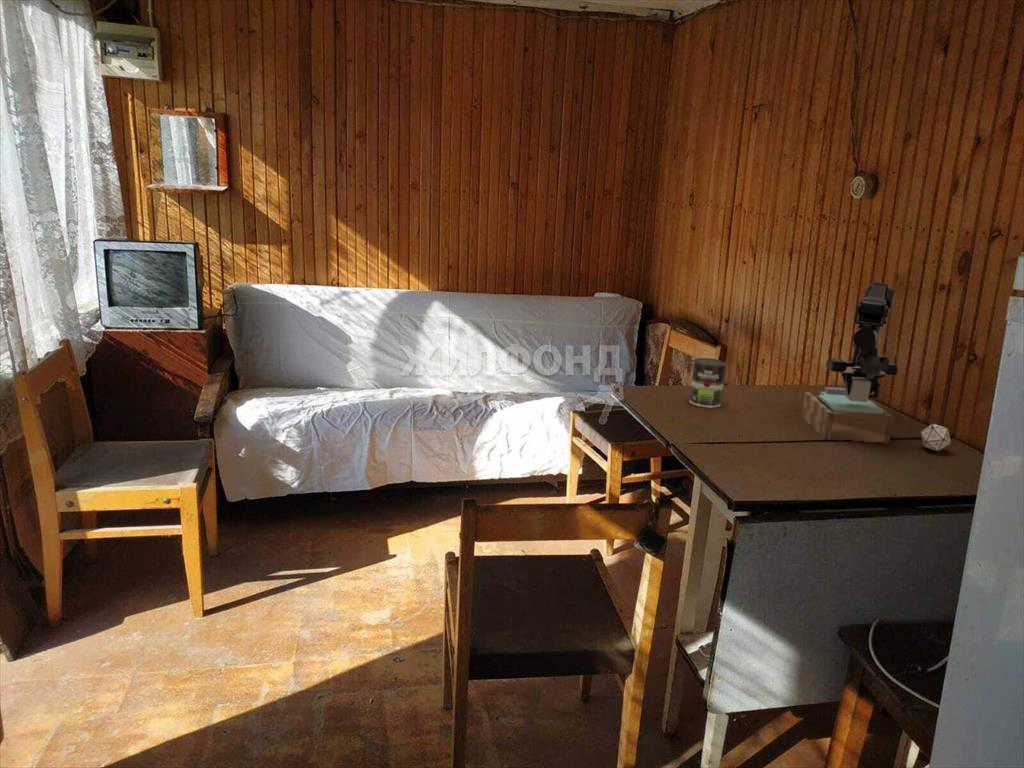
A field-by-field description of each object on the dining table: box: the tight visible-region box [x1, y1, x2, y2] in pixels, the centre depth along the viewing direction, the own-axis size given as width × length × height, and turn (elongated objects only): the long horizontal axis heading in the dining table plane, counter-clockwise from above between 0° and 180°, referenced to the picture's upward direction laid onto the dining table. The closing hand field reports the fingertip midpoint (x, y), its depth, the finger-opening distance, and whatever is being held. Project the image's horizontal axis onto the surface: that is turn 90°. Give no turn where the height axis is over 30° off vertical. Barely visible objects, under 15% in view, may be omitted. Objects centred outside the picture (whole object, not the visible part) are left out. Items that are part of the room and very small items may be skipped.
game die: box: [917, 420, 955, 455], centre depth 222 cm, size 9×8×10 cm
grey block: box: [845, 377, 871, 402], centre depth 229 cm, size 5×5×6 cm
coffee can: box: [688, 357, 728, 409], centre depth 255 cm, size 10×10×14 cm
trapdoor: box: [818, 386, 884, 414], centre depth 235 cm, size 18×14×3 cm
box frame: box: [801, 392, 895, 444], centre depth 236 cm, size 22×18×8 cm
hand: (856, 394), depth 229 cm, fingers closed on grey block, 5 cm apart
